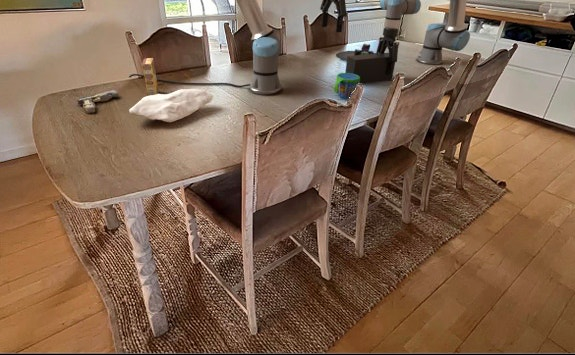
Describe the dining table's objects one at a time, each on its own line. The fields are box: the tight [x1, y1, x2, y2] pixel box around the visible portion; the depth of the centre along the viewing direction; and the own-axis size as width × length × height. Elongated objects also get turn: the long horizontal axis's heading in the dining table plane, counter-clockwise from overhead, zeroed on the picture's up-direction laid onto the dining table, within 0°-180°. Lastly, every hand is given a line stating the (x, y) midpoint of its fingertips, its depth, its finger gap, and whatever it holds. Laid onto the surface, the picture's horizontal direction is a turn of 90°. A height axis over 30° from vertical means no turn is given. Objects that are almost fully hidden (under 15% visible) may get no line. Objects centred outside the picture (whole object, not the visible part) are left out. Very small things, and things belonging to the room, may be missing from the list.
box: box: [344, 52, 396, 85], centre depth 194 cm, size 26×8×13 cm, turn 115°
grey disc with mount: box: [335, 43, 376, 62], centre depth 234 cm, size 35×35×9 cm
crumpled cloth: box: [129, 88, 214, 123], centre depth 147 cm, size 24×35×9 cm
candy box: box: [141, 57, 160, 96], centre depth 163 cm, size 9×4×15 cm, turn 13°
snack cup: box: [333, 72, 360, 100], centre depth 170 cm, size 16×10×10 cm
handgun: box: [76, 89, 120, 114], centre depth 155 cm, size 3×18×15 cm
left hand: (331, 29), depth 174 cm, fingers open, 13 cm apart
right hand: (383, 72), depth 199 cm, fingers closed on box, 8 cm apart
